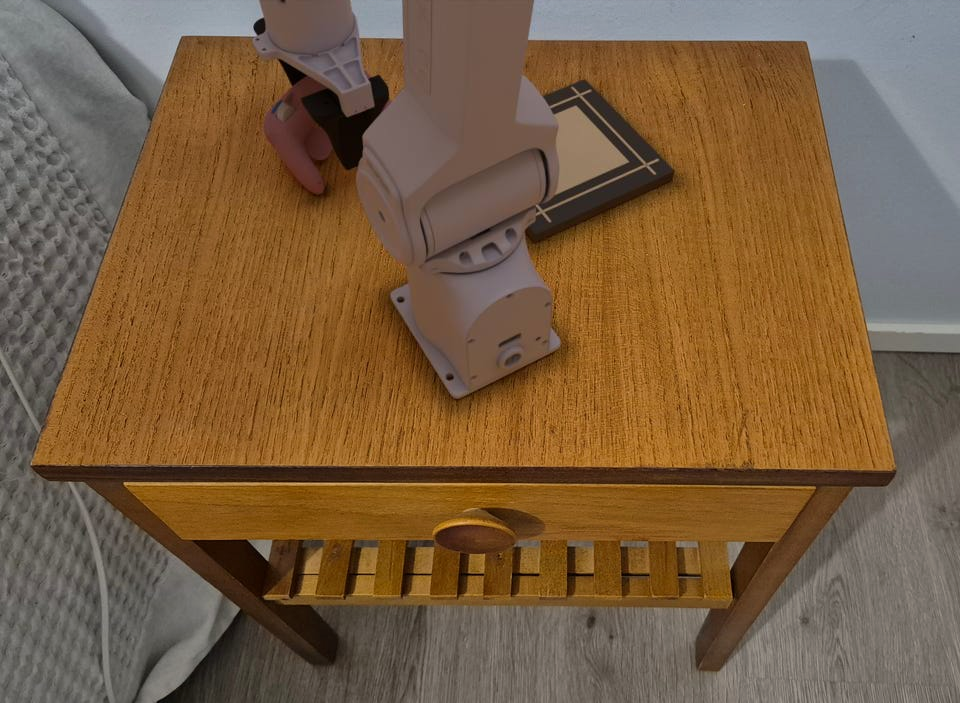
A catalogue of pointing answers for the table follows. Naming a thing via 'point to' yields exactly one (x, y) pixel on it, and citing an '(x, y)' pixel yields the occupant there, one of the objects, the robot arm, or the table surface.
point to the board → (594, 161)
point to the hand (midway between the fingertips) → (336, 132)
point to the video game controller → (300, 134)
